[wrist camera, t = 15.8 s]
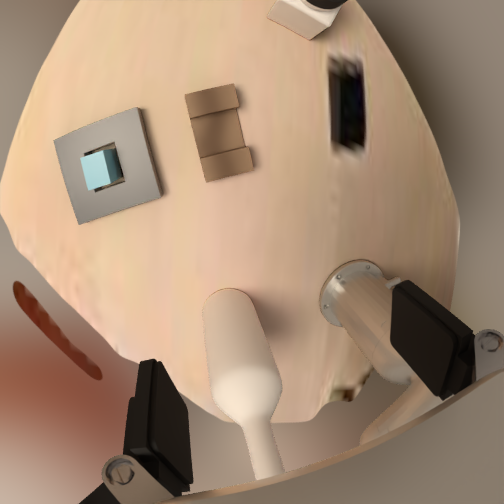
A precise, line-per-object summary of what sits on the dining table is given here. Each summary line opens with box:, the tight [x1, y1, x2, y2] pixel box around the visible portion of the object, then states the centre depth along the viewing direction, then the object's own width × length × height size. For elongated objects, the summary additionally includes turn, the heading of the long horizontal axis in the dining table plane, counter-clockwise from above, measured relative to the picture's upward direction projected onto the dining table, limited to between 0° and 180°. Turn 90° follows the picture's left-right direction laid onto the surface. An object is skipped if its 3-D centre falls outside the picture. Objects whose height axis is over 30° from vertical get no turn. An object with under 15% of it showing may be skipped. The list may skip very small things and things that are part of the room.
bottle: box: [202, 289, 285, 480], centre depth 34 cm, size 8×8×30 cm
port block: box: [54, 107, 163, 225], centre depth 35 cm, size 12×12×2 cm
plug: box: [80, 148, 122, 191], centre depth 34 cm, size 3×4×6 cm
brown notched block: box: [185, 84, 254, 182], centre depth 36 cm, size 6×11×4 cm, turn 13°
